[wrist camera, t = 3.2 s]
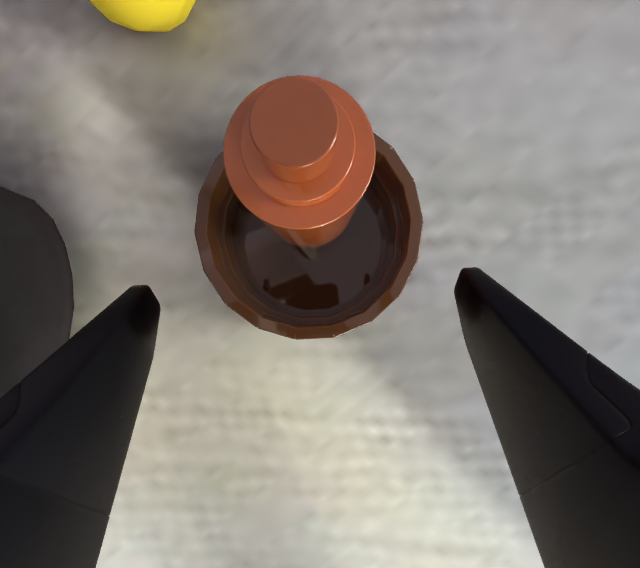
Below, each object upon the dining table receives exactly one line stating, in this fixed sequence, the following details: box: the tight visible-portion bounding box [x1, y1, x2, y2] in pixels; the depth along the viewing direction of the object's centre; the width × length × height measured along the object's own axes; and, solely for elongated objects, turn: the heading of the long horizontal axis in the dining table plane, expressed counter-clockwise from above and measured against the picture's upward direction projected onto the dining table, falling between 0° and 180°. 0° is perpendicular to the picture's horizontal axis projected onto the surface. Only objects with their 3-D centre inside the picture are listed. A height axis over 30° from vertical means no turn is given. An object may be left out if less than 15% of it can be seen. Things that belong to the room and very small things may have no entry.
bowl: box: [195, 133, 423, 340], centre depth 18 cm, size 11×11×4 cm
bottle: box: [223, 75, 376, 251], centre depth 14 cm, size 5×5×12 cm
